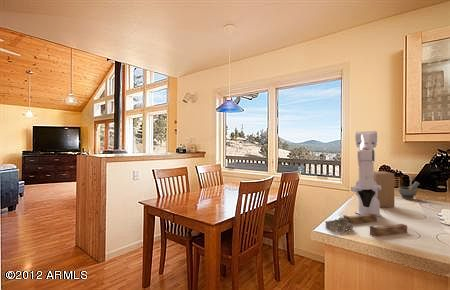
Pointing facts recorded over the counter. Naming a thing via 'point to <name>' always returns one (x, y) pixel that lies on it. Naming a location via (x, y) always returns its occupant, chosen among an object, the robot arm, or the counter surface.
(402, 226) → the chute
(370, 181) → the robot arm
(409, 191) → the mortar and pestle
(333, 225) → the egg carton
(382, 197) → the wooden block
